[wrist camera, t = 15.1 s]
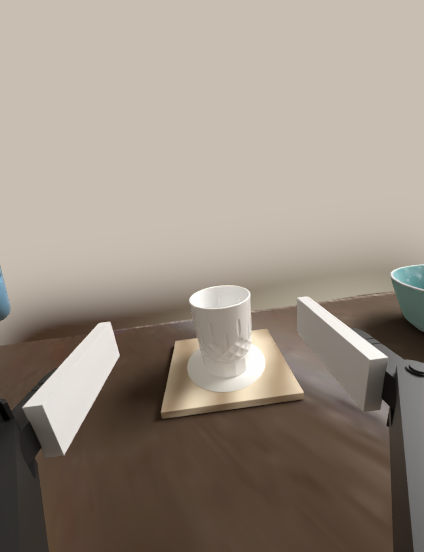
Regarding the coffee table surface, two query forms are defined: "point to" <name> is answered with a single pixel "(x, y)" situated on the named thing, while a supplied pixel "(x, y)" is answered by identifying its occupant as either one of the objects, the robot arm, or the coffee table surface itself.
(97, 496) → the coffee table surface
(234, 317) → the white cup
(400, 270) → the bowl
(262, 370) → the coaster board
